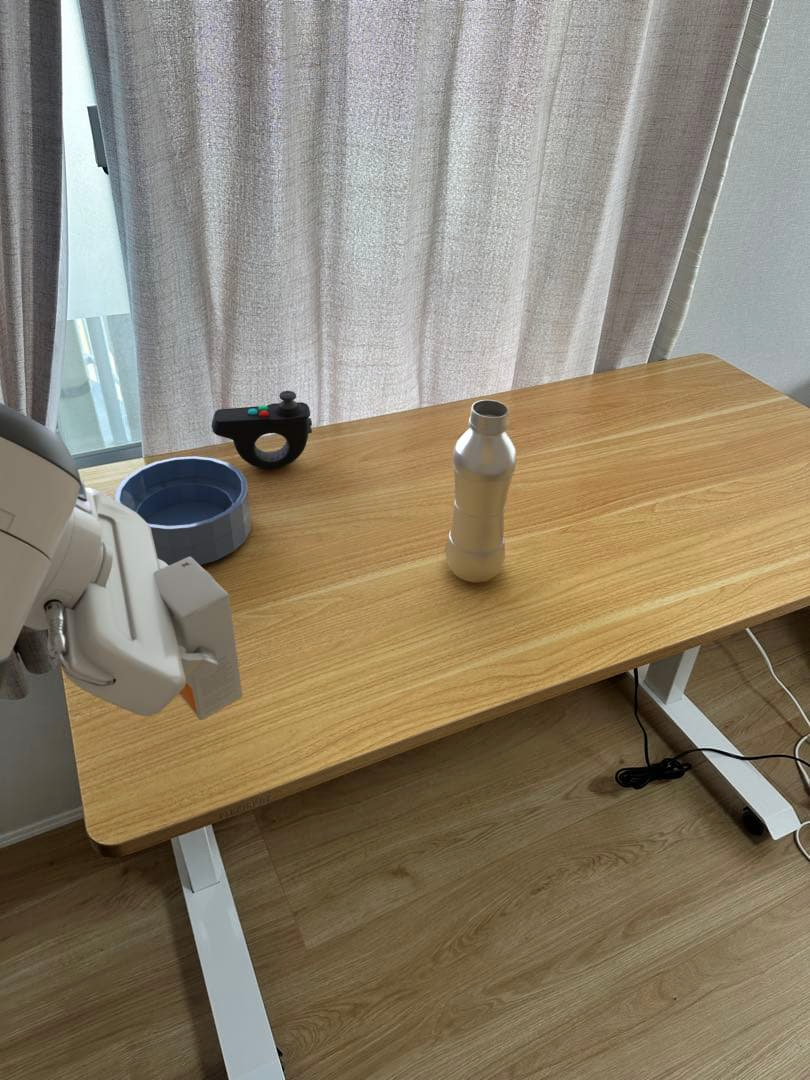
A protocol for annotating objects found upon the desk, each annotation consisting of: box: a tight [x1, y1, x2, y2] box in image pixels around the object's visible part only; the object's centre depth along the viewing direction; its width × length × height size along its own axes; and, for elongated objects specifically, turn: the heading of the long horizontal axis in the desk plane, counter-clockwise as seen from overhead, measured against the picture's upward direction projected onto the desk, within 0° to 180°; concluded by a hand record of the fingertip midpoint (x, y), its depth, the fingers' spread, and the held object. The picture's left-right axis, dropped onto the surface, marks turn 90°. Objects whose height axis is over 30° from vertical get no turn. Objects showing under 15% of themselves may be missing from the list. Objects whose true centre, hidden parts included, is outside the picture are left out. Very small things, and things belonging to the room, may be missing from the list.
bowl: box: [113, 455, 252, 566], centre depth 91 cm, size 14×14×6 cm
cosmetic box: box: [154, 557, 243, 721], centre depth 65 cm, size 6×4×12 cm
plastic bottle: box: [444, 399, 518, 583], centre depth 83 cm, size 6×7×20 cm
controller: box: [211, 390, 313, 470], centre depth 101 cm, size 4×12×10 cm, turn 102°
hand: (202, 631), depth 65 cm, fingers closed on cosmetic box, 7 cm apart
